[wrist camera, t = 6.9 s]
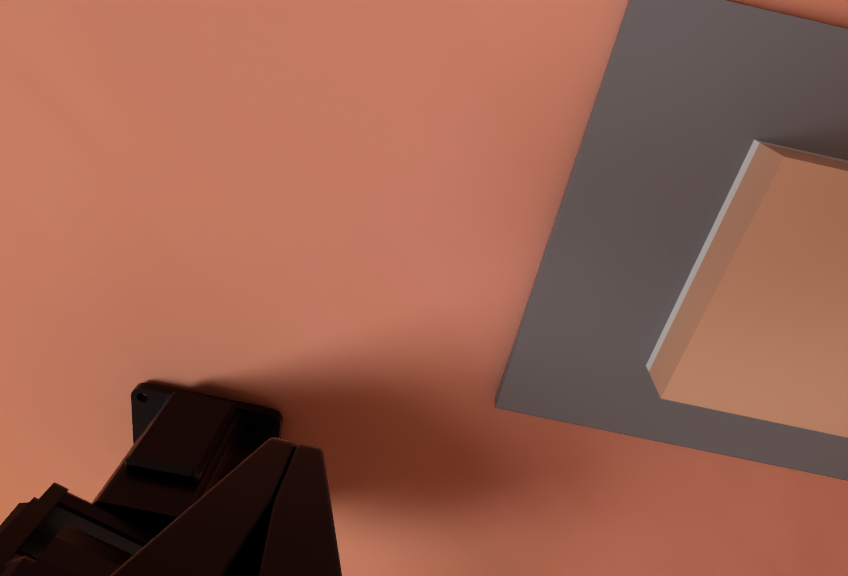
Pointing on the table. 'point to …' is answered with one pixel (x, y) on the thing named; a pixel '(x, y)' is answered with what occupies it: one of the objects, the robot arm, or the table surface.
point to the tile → (767, 299)
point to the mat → (670, 216)
